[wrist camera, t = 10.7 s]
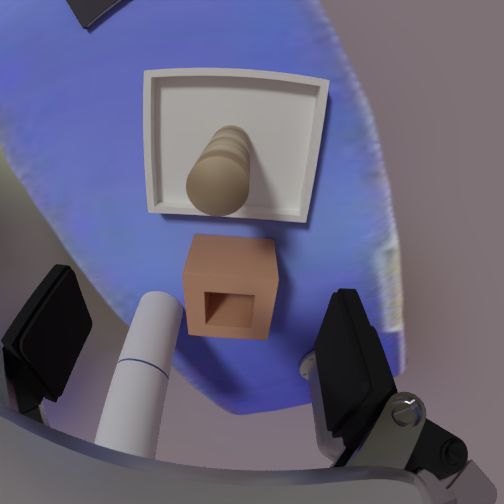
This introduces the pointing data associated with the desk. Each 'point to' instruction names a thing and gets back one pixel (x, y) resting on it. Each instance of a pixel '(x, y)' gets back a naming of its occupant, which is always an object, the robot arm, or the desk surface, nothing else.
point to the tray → (244, 116)
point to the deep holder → (230, 286)
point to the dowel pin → (221, 173)
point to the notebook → (90, 9)
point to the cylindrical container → (141, 378)
